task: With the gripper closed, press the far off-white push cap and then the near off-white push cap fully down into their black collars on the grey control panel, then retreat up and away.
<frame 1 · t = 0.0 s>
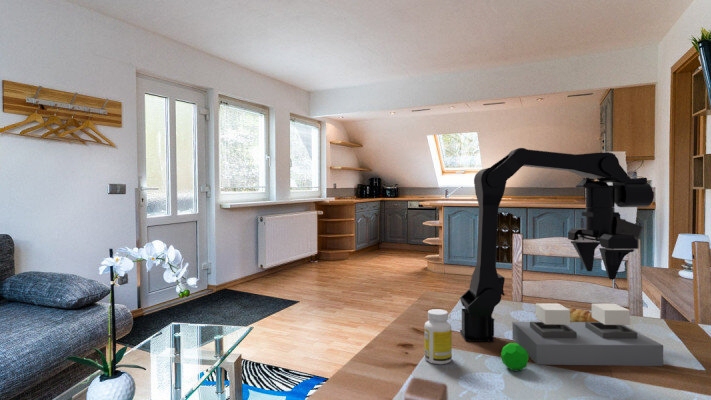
hand: (600, 275, 93), 15 cm above the table, fingers open, 9 cm apart
panel: (581, 351, 85), on the table
polyhedron: (514, 370, 77), on the table
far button: (610, 313, 85), point 8 cm above the table, slide at 0.0 cm
supplement bottle: (438, 360, 82), on the table
near button: (552, 313, 85), point 8 cm above the table, slide at 0.0 cm
pastry: (585, 325, 103), on the table
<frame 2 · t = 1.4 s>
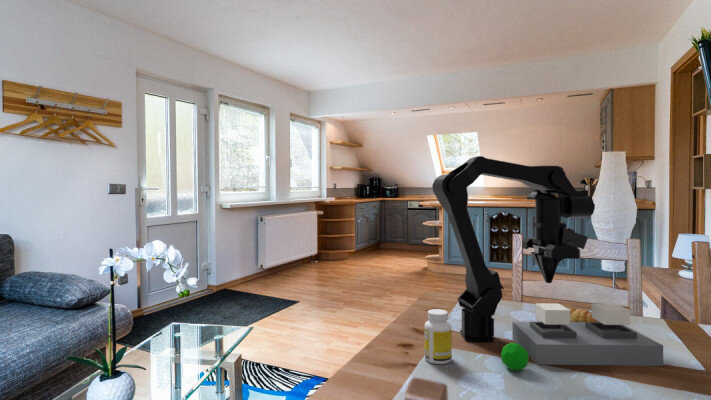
hand: (548, 282, 97), 12 cm above the table, fingers closed
nothing on the table moved.
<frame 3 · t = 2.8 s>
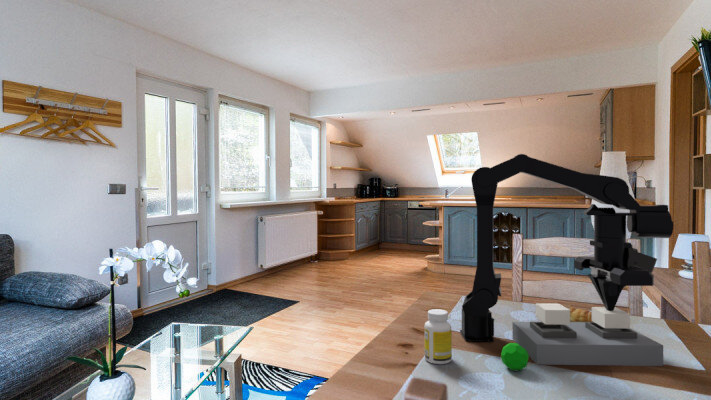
hand: (609, 310, 85), 9 cm above the table, fingers closed, pressing on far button
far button: (610, 317, 85), point 7 cm above the table, slide at 0.7 cm, touching gripper
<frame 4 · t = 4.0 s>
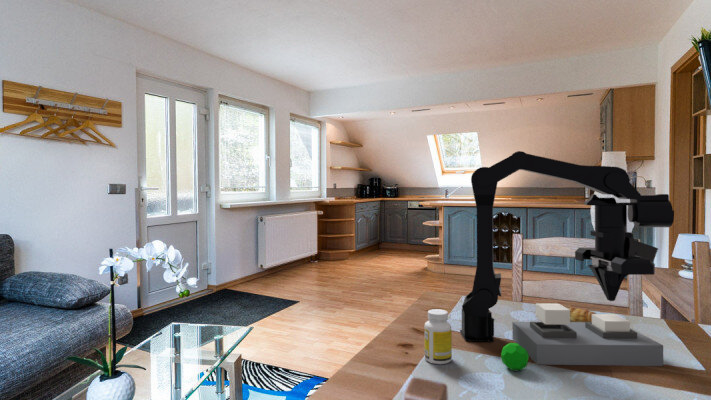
hand: (611, 300, 85), 11 cm above the table, fingers closed
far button: (610, 324, 85), point 6 cm above the table, slide at 2.3 cm
everything else where it was.
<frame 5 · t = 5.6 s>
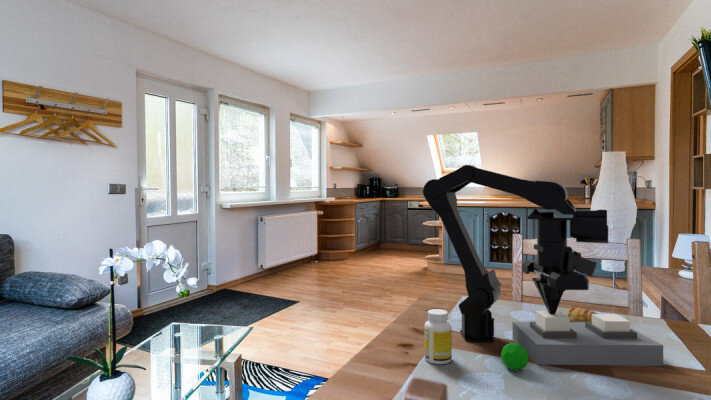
hand: (552, 313, 85), 8 cm above the table, fingers closed, pressing on near button
near button: (552, 320, 85), point 6 cm above the table, slide at 1.6 cm, touching gripper
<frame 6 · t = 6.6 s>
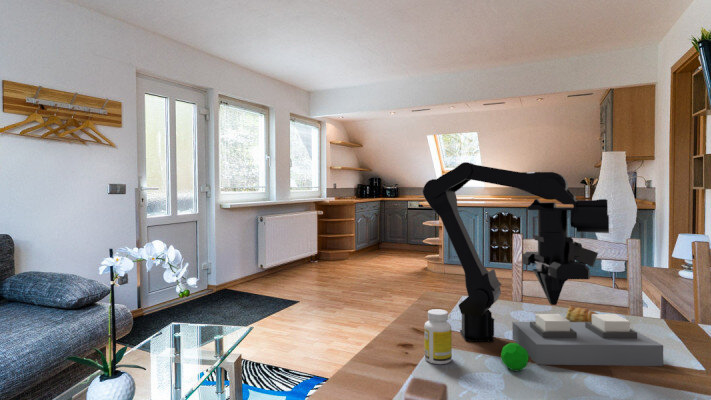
hand: (553, 304, 85), 10 cm above the table, fingers closed
near button: (552, 324, 85), point 6 cm above the table, slide at 2.3 cm
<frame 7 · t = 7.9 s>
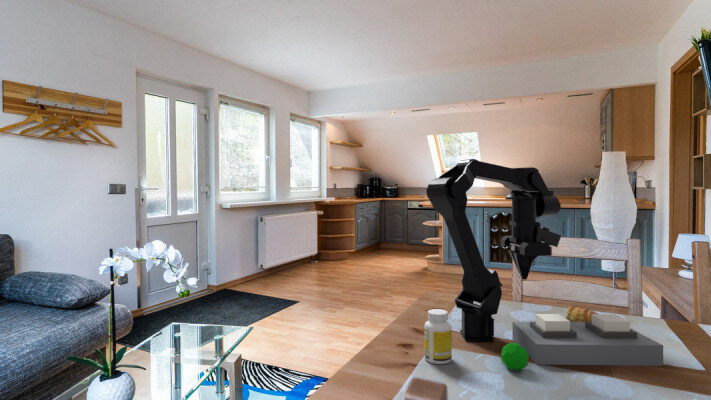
hand: (524, 279, 101), 12 cm above the table, fingers closed
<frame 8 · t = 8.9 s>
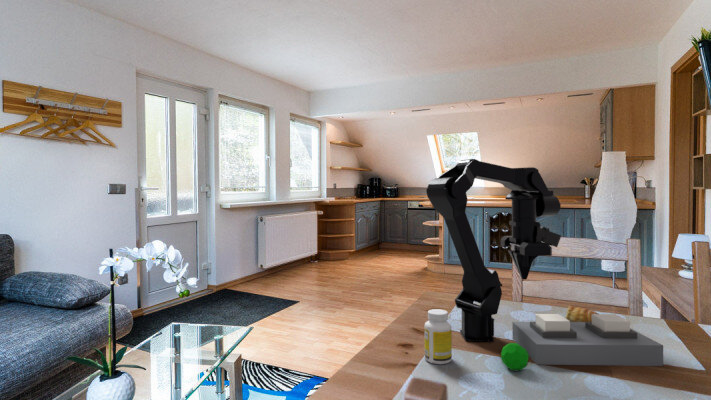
hand: (524, 279, 101), 12 cm above the table, fingers closed
at the end: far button slide at 2.3 cm; near button slide at 2.3 cm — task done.
